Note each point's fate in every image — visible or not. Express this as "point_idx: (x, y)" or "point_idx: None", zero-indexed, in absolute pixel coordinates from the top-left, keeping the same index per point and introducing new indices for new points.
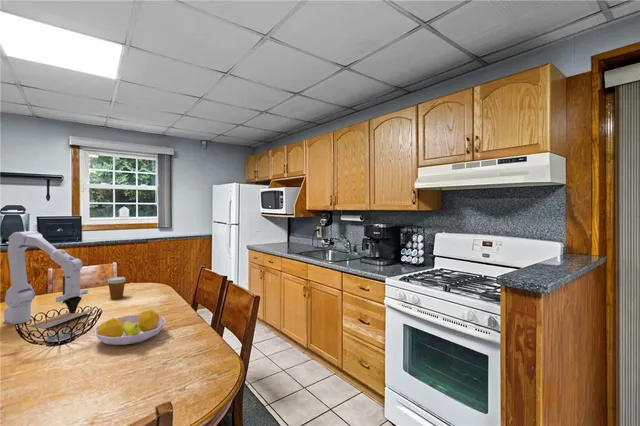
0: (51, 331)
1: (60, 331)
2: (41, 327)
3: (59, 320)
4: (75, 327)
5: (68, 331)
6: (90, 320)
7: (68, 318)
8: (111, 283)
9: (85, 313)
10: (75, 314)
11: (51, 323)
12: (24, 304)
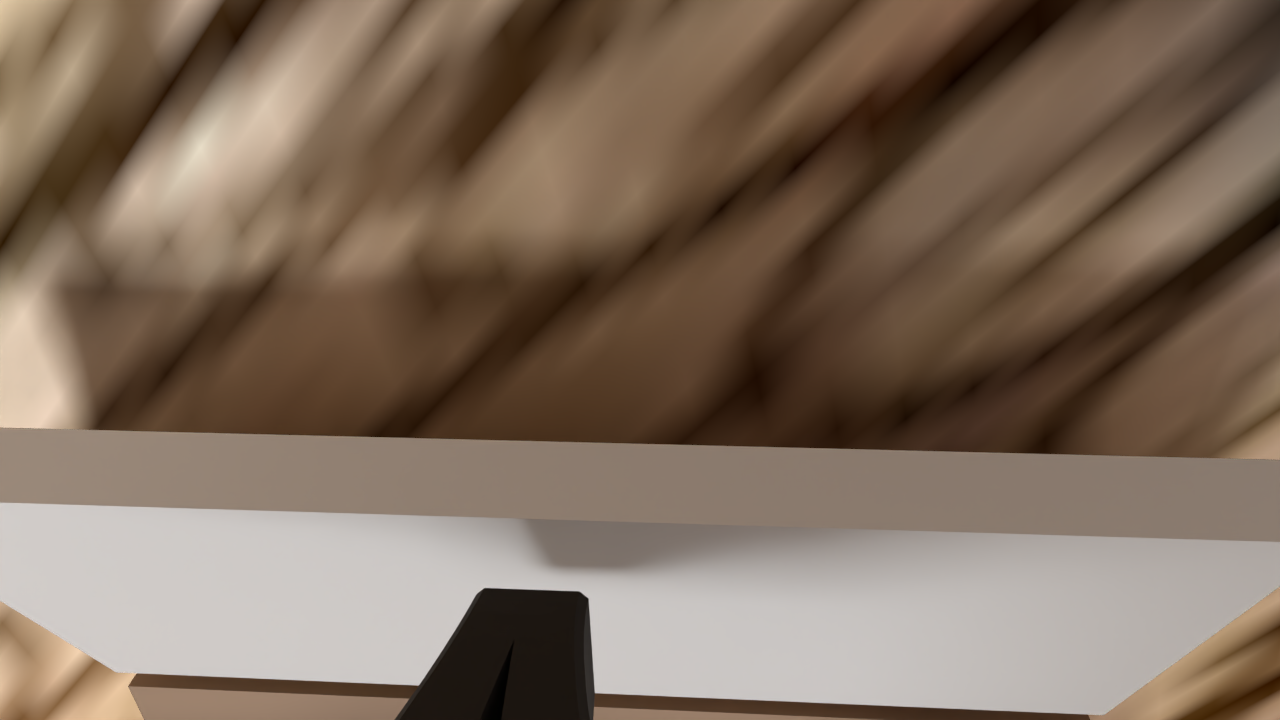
0: (1131, 443)
1: (1140, 243)
2: (1113, 702)
3: (625, 710)
4: (807, 101)
5: (1151, 11)
6: (232, 169)
7: (785, 494)
8: None
9: (180, 439)
10: (231, 701)
11: (814, 716)
12: None
